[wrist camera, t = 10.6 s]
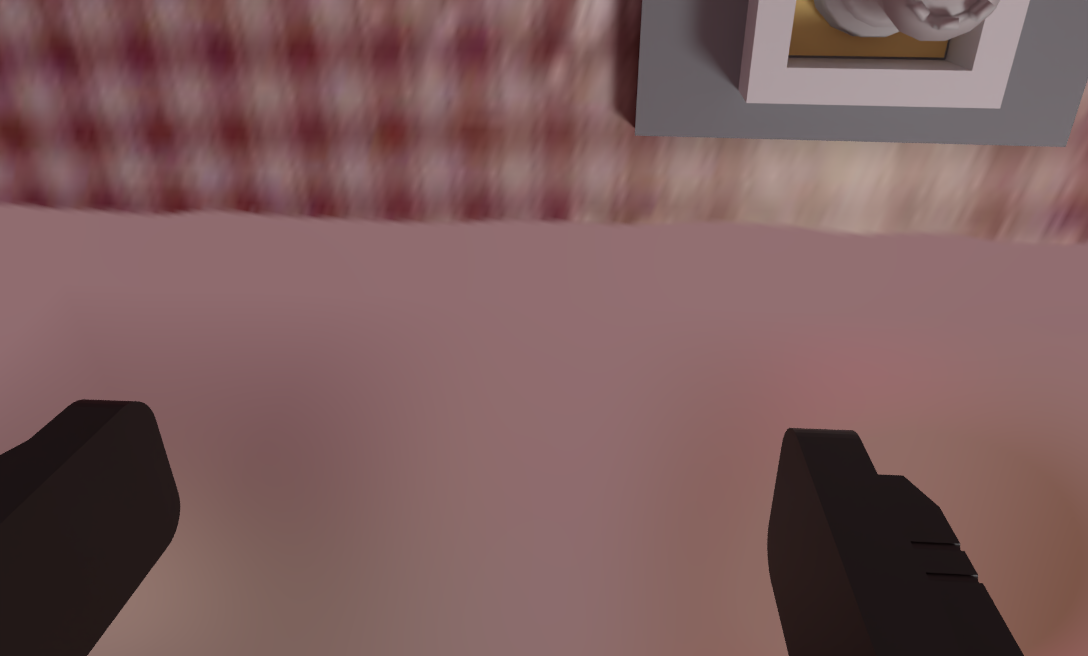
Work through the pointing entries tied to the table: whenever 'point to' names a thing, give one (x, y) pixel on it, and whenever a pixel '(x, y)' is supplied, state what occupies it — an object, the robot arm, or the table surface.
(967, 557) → the robot arm
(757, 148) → the table surface
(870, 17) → the rook chess piece
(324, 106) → the table surface
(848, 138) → the square frame on plate
